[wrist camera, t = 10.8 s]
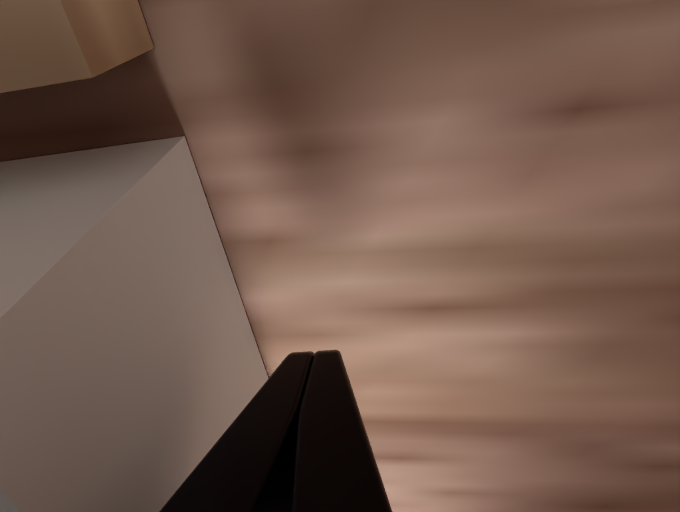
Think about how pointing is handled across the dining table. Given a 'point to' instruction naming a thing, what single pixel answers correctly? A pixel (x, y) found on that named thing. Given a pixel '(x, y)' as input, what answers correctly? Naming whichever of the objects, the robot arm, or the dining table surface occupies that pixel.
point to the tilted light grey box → (114, 329)
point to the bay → (67, 40)
